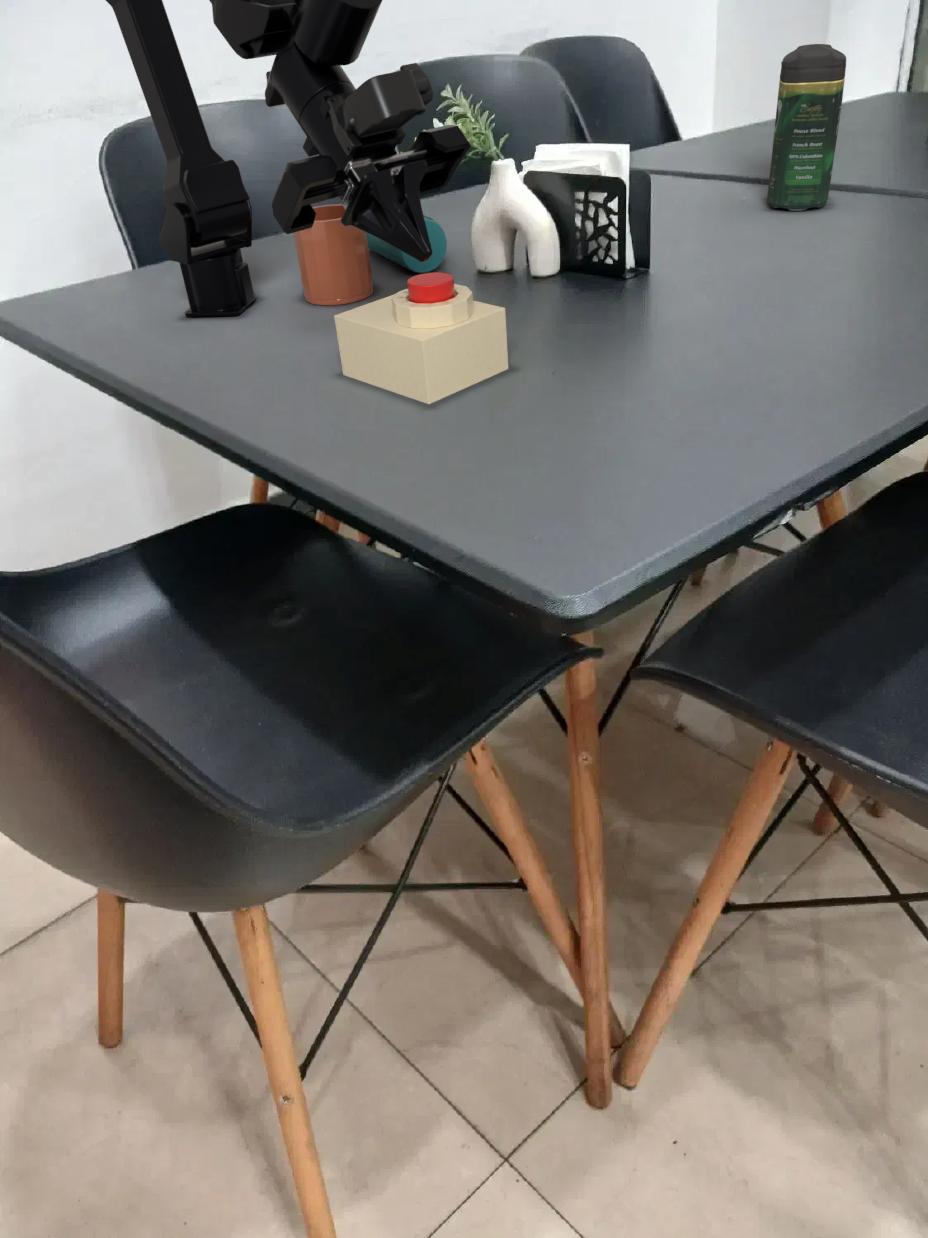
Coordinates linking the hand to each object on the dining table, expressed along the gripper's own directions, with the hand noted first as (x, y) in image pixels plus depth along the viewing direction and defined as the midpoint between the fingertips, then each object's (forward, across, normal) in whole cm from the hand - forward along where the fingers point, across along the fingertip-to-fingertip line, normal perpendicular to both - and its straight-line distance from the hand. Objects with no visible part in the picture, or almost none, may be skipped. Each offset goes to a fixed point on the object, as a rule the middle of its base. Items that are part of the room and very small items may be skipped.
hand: (427, 257), depth 83 cm
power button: (+3, 0, +2) cm, 4 cm away
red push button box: (+6, 0, +9) cm, 11 cm away
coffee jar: (+4, +71, +11) cm, 72 cm away
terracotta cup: (-13, +11, +28) cm, 33 cm away
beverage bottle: (-12, +21, +22) cm, 33 cm away
